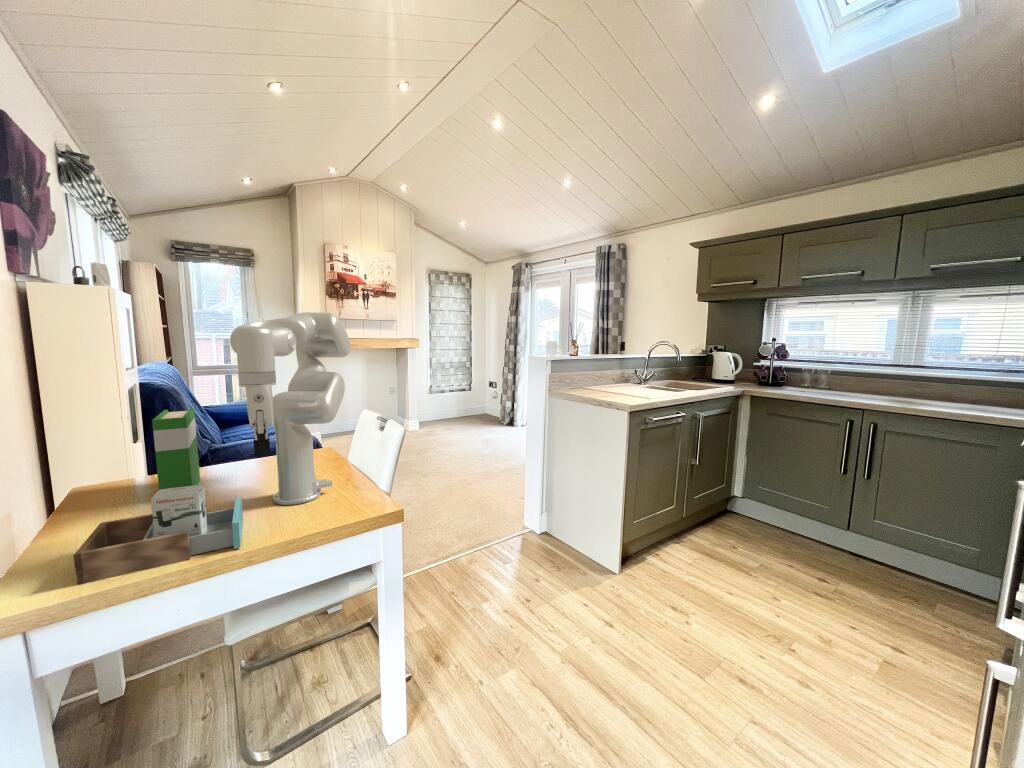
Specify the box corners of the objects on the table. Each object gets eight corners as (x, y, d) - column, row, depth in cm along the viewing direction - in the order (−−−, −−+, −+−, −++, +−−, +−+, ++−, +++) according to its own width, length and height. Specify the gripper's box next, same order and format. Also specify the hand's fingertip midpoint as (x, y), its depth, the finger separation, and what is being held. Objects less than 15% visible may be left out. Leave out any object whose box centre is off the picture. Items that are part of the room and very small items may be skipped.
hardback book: (171, 483, 129) (164, 410, 126) (200, 479, 133) (194, 408, 130) (160, 502, 114) (152, 420, 111) (193, 497, 118) (186, 417, 115)
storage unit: (199, 529, 99) (197, 506, 98) (189, 559, 86) (187, 532, 85) (103, 548, 90) (100, 522, 89) (77, 584, 77) (73, 555, 76)
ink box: (154, 550, 87) (148, 497, 85) (161, 539, 91) (156, 489, 90) (203, 541, 91) (199, 491, 89) (208, 531, 95) (204, 483, 94)
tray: (242, 519, 104) (241, 497, 103) (240, 547, 90) (238, 522, 89) (155, 536, 95) (153, 511, 94) (137, 570, 81) (134, 542, 80)
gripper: (277, 381, 91) (281, 460, 93) (274, 375, 104) (279, 444, 106) (237, 383, 87) (242, 465, 89) (239, 376, 100) (245, 448, 102)
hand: (262, 453), depth 98 cm, fingers closed
